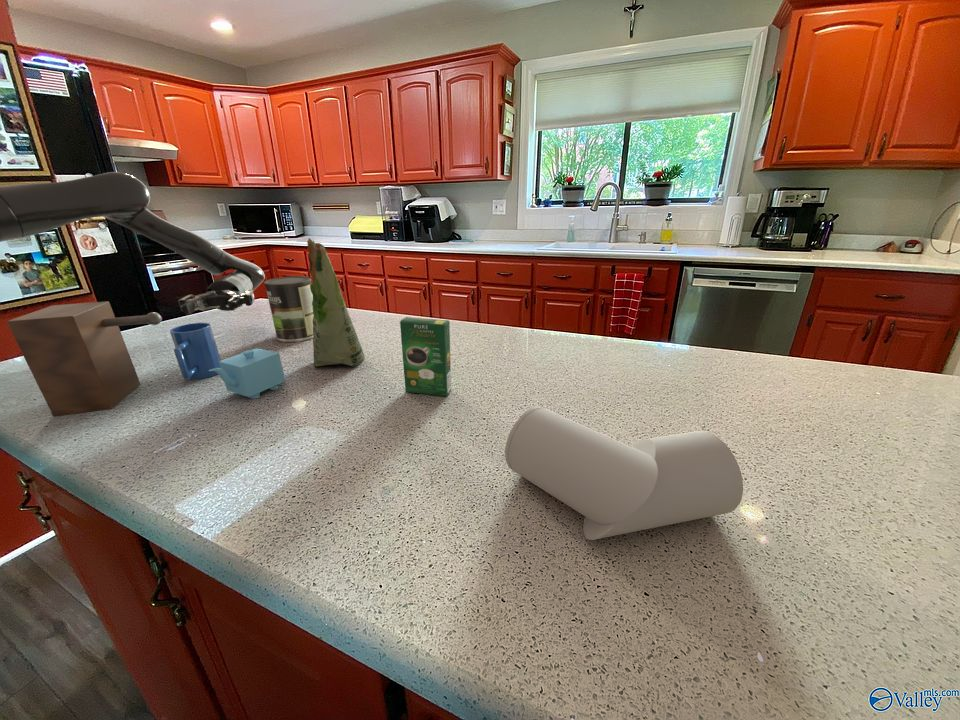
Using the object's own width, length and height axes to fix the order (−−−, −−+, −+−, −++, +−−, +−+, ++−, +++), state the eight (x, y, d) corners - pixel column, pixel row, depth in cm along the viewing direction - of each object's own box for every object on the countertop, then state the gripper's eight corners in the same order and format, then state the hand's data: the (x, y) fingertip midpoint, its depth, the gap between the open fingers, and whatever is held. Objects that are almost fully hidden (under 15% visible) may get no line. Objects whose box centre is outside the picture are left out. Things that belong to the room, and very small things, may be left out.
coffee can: (287, 345, 93) (274, 286, 88) (270, 336, 100) (257, 280, 94) (328, 334, 100) (318, 279, 95) (309, 327, 107) (299, 274, 101)
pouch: (346, 375, 76) (324, 241, 67) (295, 369, 80) (267, 240, 70) (376, 355, 86) (361, 235, 77) (330, 350, 90) (309, 235, 80)
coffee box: (454, 390, 70) (450, 318, 65) (448, 397, 67) (444, 323, 62) (411, 386, 72) (404, 316, 67) (405, 393, 69) (397, 320, 64)
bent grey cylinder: (551, 582, 33) (753, 538, 37) (546, 464, 31) (759, 430, 35) (498, 485, 50) (640, 461, 54) (493, 405, 48) (640, 386, 52)
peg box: (53, 416, 64) (6, 321, 58) (89, 390, 73) (52, 305, 67) (168, 401, 68) (136, 310, 62) (190, 378, 77) (163, 297, 71)
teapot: (231, 411, 64) (218, 368, 61) (209, 403, 67) (196, 362, 64) (293, 382, 74) (285, 344, 71) (271, 376, 77) (263, 340, 74)
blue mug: (192, 369, 81) (177, 324, 78) (227, 364, 83) (214, 321, 79) (169, 392, 71) (151, 343, 67) (209, 387, 73) (194, 339, 69)
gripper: (192, 279, 96) (164, 293, 82) (256, 275, 100) (240, 287, 85) (201, 309, 99) (176, 328, 85) (263, 304, 103) (249, 321, 88)
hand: (208, 308), depth 85 cm, fingers open, 8 cm apart
